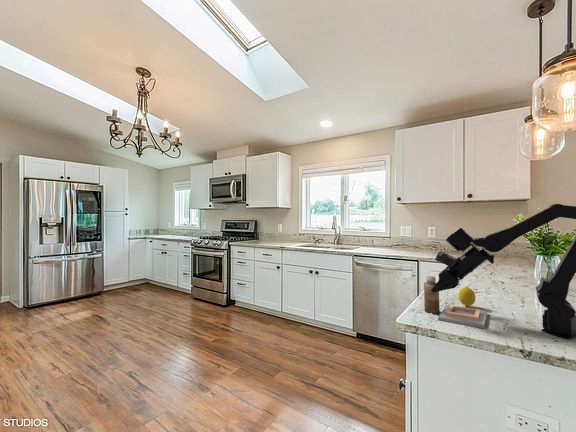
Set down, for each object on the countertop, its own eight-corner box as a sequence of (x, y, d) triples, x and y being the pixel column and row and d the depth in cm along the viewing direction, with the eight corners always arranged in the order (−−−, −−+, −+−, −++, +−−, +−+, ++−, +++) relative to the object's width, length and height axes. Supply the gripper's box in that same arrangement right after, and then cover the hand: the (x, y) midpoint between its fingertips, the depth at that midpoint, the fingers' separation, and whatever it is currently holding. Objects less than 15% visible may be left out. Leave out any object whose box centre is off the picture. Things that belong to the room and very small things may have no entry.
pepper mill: (442, 312, 102) (441, 277, 102) (432, 314, 100) (431, 278, 101) (431, 308, 107) (430, 275, 107) (421, 310, 105) (420, 276, 105)
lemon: (475, 310, 104) (475, 288, 104) (458, 307, 107) (458, 287, 107) (475, 306, 109) (474, 285, 109) (458, 304, 112) (458, 284, 112)
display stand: (487, 314, 100) (487, 307, 100) (484, 328, 87) (484, 321, 87) (446, 307, 108) (446, 301, 108) (438, 320, 95) (438, 313, 95)
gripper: (454, 242, 107) (423, 268, 114) (445, 247, 93) (411, 276, 99) (479, 264, 102) (445, 289, 109) (474, 273, 88) (436, 301, 94)
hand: (434, 288), depth 103 cm, fingers open, 9 cm apart
